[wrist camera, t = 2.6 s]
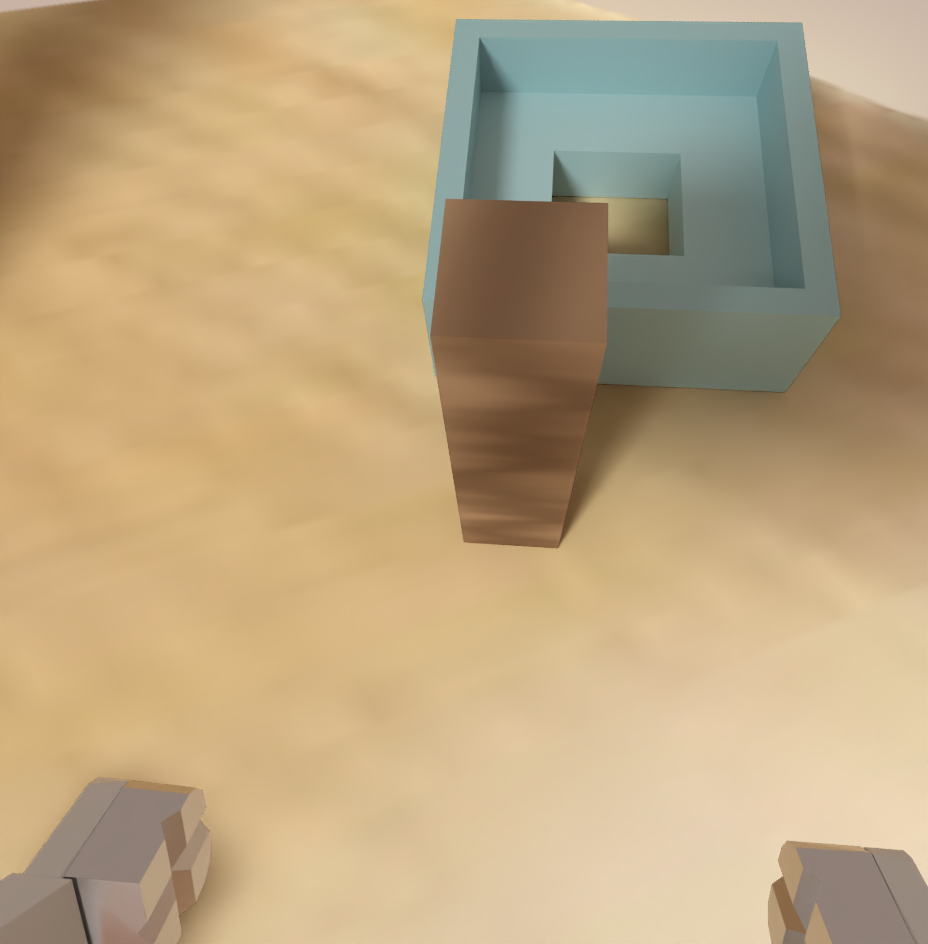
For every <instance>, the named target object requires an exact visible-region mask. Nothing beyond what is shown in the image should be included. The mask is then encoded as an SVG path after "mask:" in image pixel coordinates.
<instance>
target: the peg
mask: <svg viewBox="0 0 928 944" xmlns="http://www.w3.org/2000/svg"><path fill="white" fill-rule="evenodd" d="M607 284H608V203H585V202H549V201H513V200H477V199H446V200H445V209H444V217H443V226H442V235H441V244H440V253H439V262H438V270H437V279H436V288H435V297H434V306H433V315H432V323H431V332H430V338H431V345H432V351H433V357H434V363H435V369H436V375H437V381H438V387H439V393H440V400H441V406H442V412H443V418H444V424H445V430H446V436H447V442H448V448H449V455H450V461H451V467H452V473H453V479H454V485H455V491H456V497H457V503H458V510H459V516H460V522H461V528H462V534H463V540H464V542H467V543H483V544H499V545H515V546H531V547H547V548H558V546H559V542H560V538H561V534H562V529H563V525H564V521H565V517H566V513H567V509H568V504H569V500H570V496H571V492H572V488H573V483H574V479H575V475H576V471H577V467H578V463H579V458H580V454H581V450H582V446H583V442H584V438H585V433H586V429H587V425H588V421H589V417H590V412H591V408H592V404H593V400H594V396H595V392H596V387H597V383H598V379H599V375H600V371H601V366H602V362H603V358H604V354H605V350H606V346H607Z"/></svg>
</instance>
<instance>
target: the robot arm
mask: <svg viewBox="0 0 928 944" xmlns="http://www.w3.org/2000/svg"><path fill="white" fill-rule="evenodd" d="M205 809H206V804H205V799H204V793H203V790H201V789H198V788H193V787H185V786H177V785H168V784H160V783H152V782H143V781H135V780H132V781H131V780H122V779H113V778H104V777H98V778H97V779H95V780H94V781H92V782H91V783H89V784H88V785H87V786H86V788H85V789H84V790H83V792H82V793H81V795H80V796H79V797H78V799H77V800H76V801H75V803H74V804H73V806H72V807H71V808H70V810H69V811H68V812H67V814H66V815H65V817H64V818H63V819H62V821H61V822H60V823H59V825H58V826H57V827H56V829H55V830H54V832H53V833H52V834H51V836H50V837H49V838H48V840H47V841H46V843H45V844H44V845H43V847H42V848H41V849H40V851H39V852H38V853H37V855H36V856H35V858H34V859H33V860H32V862H31V863H30V864H29V866H28V867H27V869H26V870H25V871H24V873H23V874H16V873H12V874H10V875H9V876H7V877H5V878H4V879H2V880H0V944H177V942H178V940H179V938H180V936H181V934H182V931H181V925H180V919H179V915H180V914H182V913H183V912H184V911H185V910H187V909H188V908H189V907H191V906H192V905H193V904H194V903H196V901H197V899H198V897H199V894H200V892H201V890H202V888H203V885H204V883H205V879H206V875H207V872H208V868H209V864H210V858H211V837H210V830H209V829H208V828H207V827H206V826H205V825H204V824H203V823H202V822H201V821H200V819H201V817H202V815H203V813H204V811H205ZM778 862H779V865H780V868H781V871H782V874H783V876H782V877H781V878H780V879H778V880H777V881H776V882H774V883H773V884H772V886H771V891H770V896H769V900H768V925H769V931H770V937H771V943H772V944H928V886H927V885H926V883H925V881H924V879H923V877H922V875H921V874H920V872H919V870H918V868H917V866H916V865H915V863H914V861H913V859H912V858H911V857H910V856H909V855H908V854H907V853H906V852H905V851H903V850H891V849H879V848H868V847H864V848H861V847H860V846H848V845H835V844H822V843H810V842H797V841H786V843H785V844H784V845H783V846H782V848H781V852H780V855H779V859H778Z"/></svg>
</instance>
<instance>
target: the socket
mask: <svg viewBox="0 0 928 944" xmlns="http://www.w3.org/2000/svg"><path fill="white" fill-rule="evenodd" d="M552 196H581V197H617V198H653V199H668V231H669V255H643V254H613V253H608V284H607V346H606V350H605V354H604V358H603V362H602V366H601V371H600V375H599V379H598V383H597V384H616V385H638V386H660V387H682V388H703V389H725V390H747V391H768V392H786V391H787V389H788V388H789V387H790V385H791V384H792V383H793V381H794V380H795V378H796V377H797V376H798V374H799V373H800V372H801V370H802V369H803V367H804V366H805V365H806V363H807V362H808V361H809V359H810V358H811V357H812V355H813V354H814V352H815V351H816V350H817V348H818V347H819V346H820V344H821V343H822V342H823V340H824V339H825V337H826V336H827V335H828V333H829V332H830V331H831V329H832V328H833V326H834V325H835V324H836V322H837V321H838V320H839V318H840V317H841V312H840V305H839V297H838V290H837V282H836V275H835V267H834V259H833V252H832V244H831V237H830V229H829V222H828V214H827V207H826V199H825V192H824V184H823V176H822V169H821V161H820V154H819V146H818V139H817V131H816V124H815V116H814V109H813V101H812V94H811V86H810V78H809V71H808V63H807V56H806V48H805V41H804V33H803V26H802V23H783V22H782V23H781V22H780V23H778V22H777V23H776V22H684V21H682V22H681V21H680V22H679V21H678V22H677V21H584V20H485V19H456V24H455V32H454V40H453V48H452V57H451V65H450V73H449V82H448V90H447V98H446V107H445V115H444V123H443V132H442V140H441V148H440V156H439V165H438V173H437V181H436V190H435V198H434V206H433V215H432V223H431V231H430V240H429V248H428V256H427V264H426V273H425V281H424V289H423V298H422V302H423V308H424V314H425V320H426V326H427V332H428V338H429V344H430V350H431V356H432V362H433V367H434V373H435V376H437V375H436V369H435V363H434V357H433V351H432V345H431V338H430V332H431V323H432V315H433V306H434V297H435V288H436V279H437V270H438V262H439V253H440V244H441V235H442V226H443V217H444V209H445V200H446V199H477V200H513V201H549V202H552Z"/></svg>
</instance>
